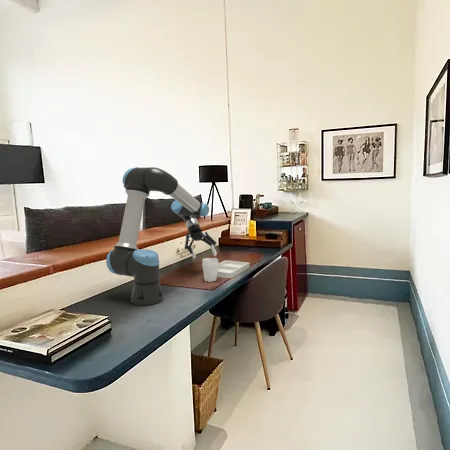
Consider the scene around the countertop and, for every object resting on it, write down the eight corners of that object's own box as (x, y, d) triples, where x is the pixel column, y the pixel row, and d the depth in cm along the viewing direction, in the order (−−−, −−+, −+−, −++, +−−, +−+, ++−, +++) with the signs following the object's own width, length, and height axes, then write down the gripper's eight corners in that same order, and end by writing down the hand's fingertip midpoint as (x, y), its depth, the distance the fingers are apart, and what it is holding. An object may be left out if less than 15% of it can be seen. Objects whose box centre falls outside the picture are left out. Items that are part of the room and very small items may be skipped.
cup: (216, 283, 194) (216, 261, 193) (200, 282, 196) (200, 260, 195) (220, 278, 203) (219, 257, 202) (204, 277, 205) (204, 257, 203)
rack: (230, 278, 203) (230, 273, 203) (204, 275, 210) (204, 270, 210) (249, 267, 228) (249, 262, 227) (225, 264, 235) (225, 260, 235)
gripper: (209, 229, 225) (221, 257, 214) (172, 232, 212) (183, 262, 201) (213, 222, 219) (226, 250, 209) (176, 225, 207) (187, 255, 196)
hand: (205, 256), depth 205 cm, fingers open, 13 cm apart
